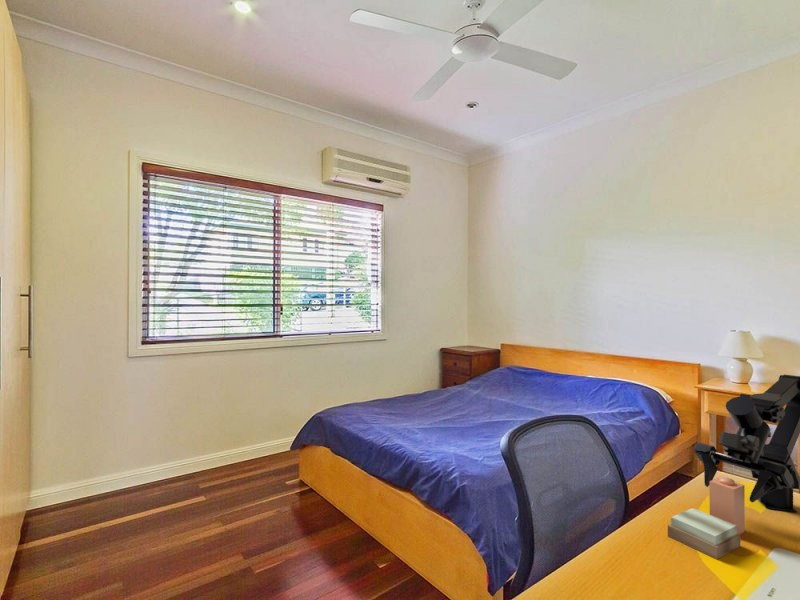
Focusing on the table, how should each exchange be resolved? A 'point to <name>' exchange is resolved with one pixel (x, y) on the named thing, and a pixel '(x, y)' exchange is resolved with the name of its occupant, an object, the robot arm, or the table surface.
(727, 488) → the top brick
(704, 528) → the base brick
